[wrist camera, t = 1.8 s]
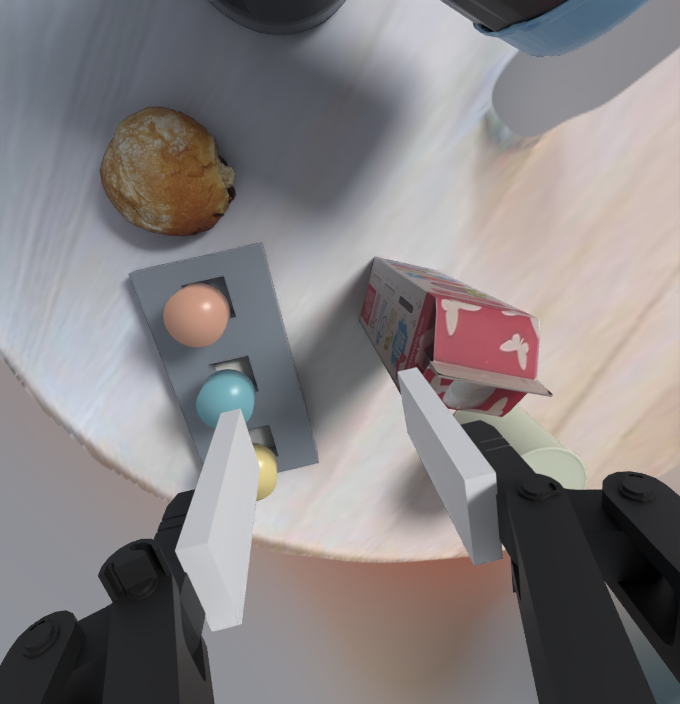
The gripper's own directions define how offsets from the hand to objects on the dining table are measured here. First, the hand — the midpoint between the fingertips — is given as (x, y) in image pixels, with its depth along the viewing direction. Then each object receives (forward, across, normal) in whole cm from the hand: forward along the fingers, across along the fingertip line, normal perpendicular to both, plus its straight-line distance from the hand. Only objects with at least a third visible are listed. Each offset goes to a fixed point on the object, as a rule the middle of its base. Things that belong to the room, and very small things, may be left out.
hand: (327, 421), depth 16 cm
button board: (+27, -9, -7) cm, 29 cm away
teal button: (+23, -9, -7) cm, 26 cm away
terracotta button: (+23, -9, +1) cm, 25 cm away
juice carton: (+27, +9, -3) cm, 29 cm away
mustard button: (+23, -9, -15) cm, 29 cm away
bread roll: (+27, -9, +12) cm, 31 cm away
